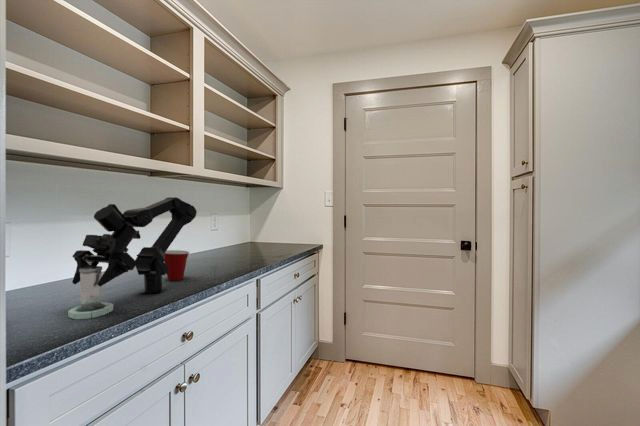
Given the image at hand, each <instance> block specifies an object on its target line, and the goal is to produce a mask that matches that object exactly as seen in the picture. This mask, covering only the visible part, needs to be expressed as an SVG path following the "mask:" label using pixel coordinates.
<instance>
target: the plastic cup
mask: <svg viewBox="0 0 640 426" xmlns="http://www.w3.org/2000/svg"><path fill="white" fill-rule="evenodd" d="M190 253H191V252H190V251H188V250H183V249H182V250H181V249H180V250H179V249H171V250H169V249H167V250H166V252H165V261H164V263H165V264H166V265H167V266H168V268H169V269H168V273H167V274H166V277H167V280H168V281H169V282H177V281H181V280H183V279H184V276H185V271H186V265H187V259H188V257H189V254H190Z"/></svg>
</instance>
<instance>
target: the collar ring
mask: <svg viewBox="0 0 640 426" xmlns="http://www.w3.org/2000/svg"><path fill="white" fill-rule="evenodd" d="M113 311H114V303H111V302H107V301H105V302H104V301H102V309H98V310H94V311H88V312H81V305H77V306H74V307H72V308H70V309H69V310H68V311H67V318H70V319H72V320H87V319H94V318H99V317H101V315H102V316H105V314H106V315H108V314H110V313H111V312H113ZM109 312H110V313H109ZM107 313H108V314H107Z"/></svg>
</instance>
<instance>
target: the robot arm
mask: <svg viewBox="0 0 640 426" xmlns="http://www.w3.org/2000/svg"><path fill="white" fill-rule="evenodd" d="M168 212H169V213H170V215H171V220H170V221H169V222H168V224H167V225H166V227H164V230H162V232H161V234H159V236H158V237H157V239H156V240H155V241H154V243H153V244H152V246H150V247H148V246H147V247H146V246H143V247H142V248H141V250H140V251H139V252H138V254H136V256H135V257H136V258H133V256H131V255H130V254H129V252H128V251H129V248H128V246H129V244H130V243H131V242H132V240H133V239H134V240H135V239H137V240H139V239H141V234H140V230H136V229H135V228H145V227H147V226H148V225H149V224H151V223H152V222H153V220H154V218H156V217H159V216H161V215H163V214H165V213H168ZM196 216H197V209H196V208H195V206H194V205H191V204H190V203H188V202H185V201H183V200H182V199H181V198H179V197H176V196H175V197H172V196H171V197H170V196H169V197H166V198H164V199H163V200H160V201H157V202H155V203H152V204H150V205H148V206H146V207H139V208H133V209H128V210H125V211H124V212H122V211H121V210H120V209H119V208H118V206H117V204H115V203H113V204H112V203H111V204H110V203H108V205H107V206H105V207H104V206H103V208H100V209H99V210H96V212H95V213H94V215H93V218H94V220H95V221H96V222H98V224H100V226H101V227H102V228H103V229H104V230H105V231H107V232H109V233H111V232H112V233H111V234H109V233H103V234H102V235H98V234H85V238H84V239H83V242H82V247H87V248H91V249H92V250H91V251H90V250H85V249H84V250H82V249H80V250H76V251H75V252H74V253H73V255H72V257H71V258H73V259H74V261H75V262H76V265H77V266H76V269H75V272H74V275H73V278H72V281H71V282H72V284H73V285H76V284H78V283H80V272H79V269H80V268H84V267H91V266H99V263H103V264H108V265H107V267H106V268H105V271H104V272H103V273H102V277H101V278H100V280H99V282H98V284H97V285H98V286H102V287H103V286H104V285H106V284H107V283H109V282H110V281H112V280H114V279H115V278H118V277H120V276H121V275H123V274H125V273H128V272H129V271H133V270H134V269H135V268H136V271H137V274H138V276H140V275H141V276H143V278H144V279H143V281H144V285H143V287H144V289H143V290H142V291H141V292H140V294H141V295H145V294H159V293H160V294H161V293H163V291H164V290H165V289H166V286H163V276H166V275H167V273H168V269H169V268H168V266H167V265H166V264H165V262H164V261H165V252H166V250H169V247H170V246H171V245H172V243H173V242H174V240H175V239H176V238H177V236H178V235H179V233H180V232H181V230H182V229H183V227H184V226H186V225H188V224H190V223H191V222H192V221H193V220H194V219H195V218H196ZM92 252H93V253H92ZM94 253H95V254H94Z"/></svg>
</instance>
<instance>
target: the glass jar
mask: <svg viewBox="0 0 640 426" xmlns="http://www.w3.org/2000/svg"><path fill="white" fill-rule="evenodd" d="M102 271H103V266H101V265H97V266H91V267H84V268H80V269H79V272H80V282H79V284H80V287H79V288H80V306H81V312H88V311H94V310H98V309H102V302H103V285H102V286H98V285H97V284H98V282H99V280H100V278H101V277H102V275H103V273H102Z"/></svg>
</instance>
